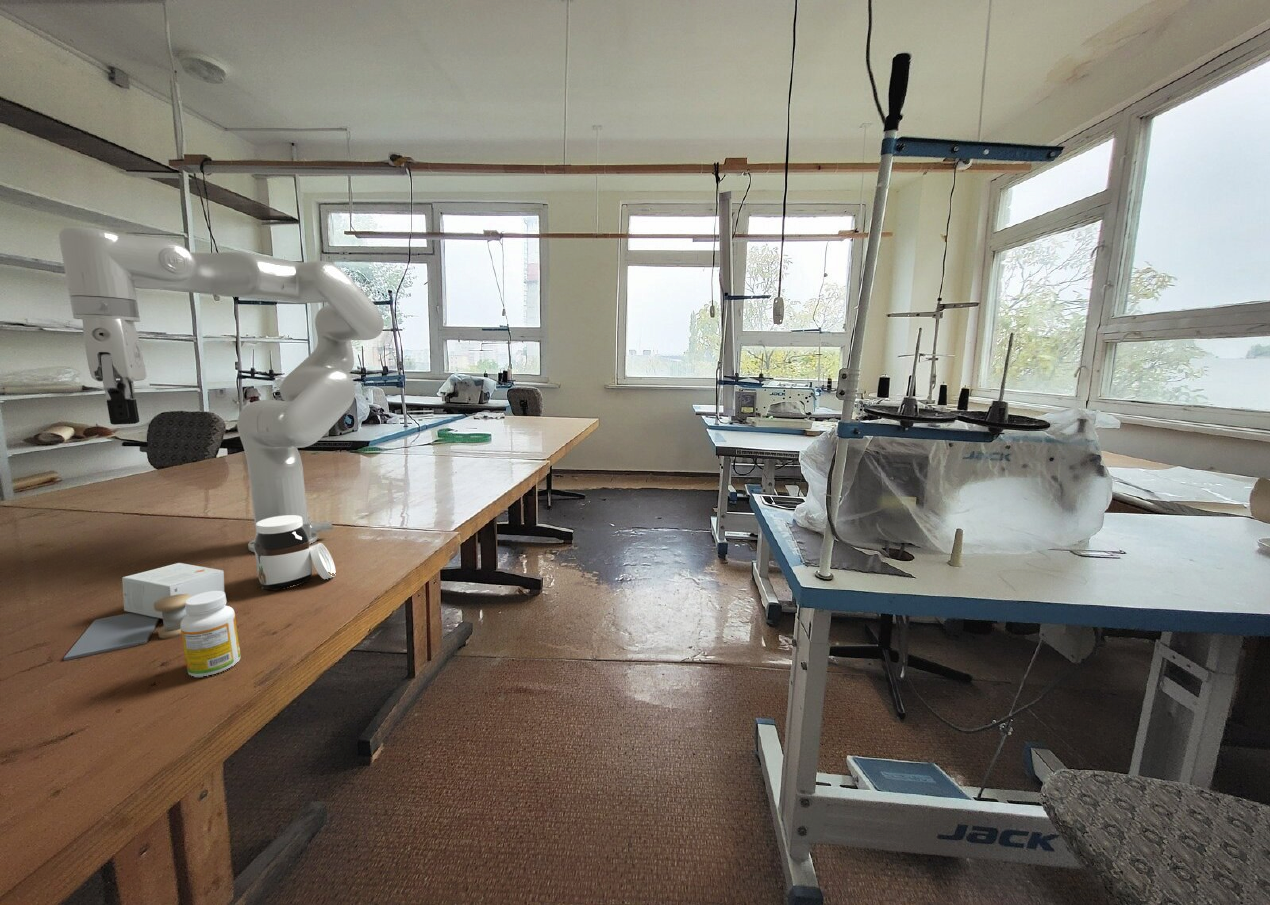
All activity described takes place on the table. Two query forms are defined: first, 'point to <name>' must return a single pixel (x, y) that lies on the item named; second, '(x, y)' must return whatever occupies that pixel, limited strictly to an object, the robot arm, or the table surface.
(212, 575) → the small box
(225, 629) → the supplement bottle
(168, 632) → the thread spool
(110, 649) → the felt mat
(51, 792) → the table surface
